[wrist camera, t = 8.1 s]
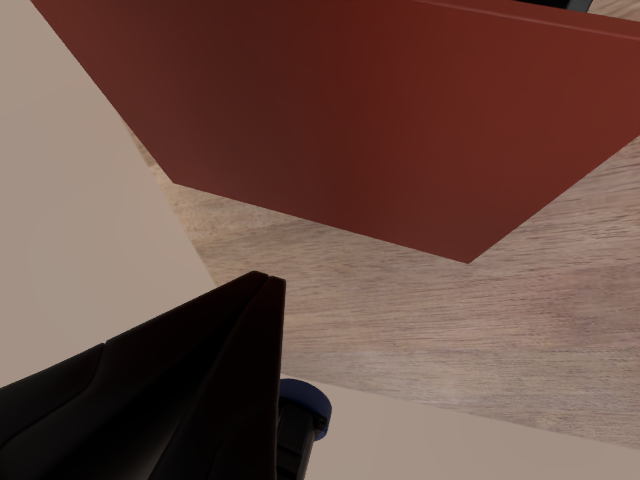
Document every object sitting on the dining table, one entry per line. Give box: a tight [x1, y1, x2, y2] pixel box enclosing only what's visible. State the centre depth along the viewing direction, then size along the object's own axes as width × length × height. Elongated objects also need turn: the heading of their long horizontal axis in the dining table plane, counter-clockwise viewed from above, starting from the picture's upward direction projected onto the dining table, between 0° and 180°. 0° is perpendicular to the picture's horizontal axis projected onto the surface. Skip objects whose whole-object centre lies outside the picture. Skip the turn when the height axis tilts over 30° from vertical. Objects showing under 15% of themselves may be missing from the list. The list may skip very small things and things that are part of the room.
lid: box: [30, 0, 640, 264], centre depth 8 cm, size 7×11×1 cm
